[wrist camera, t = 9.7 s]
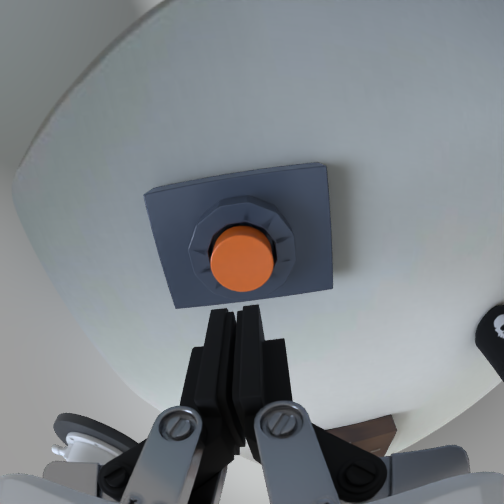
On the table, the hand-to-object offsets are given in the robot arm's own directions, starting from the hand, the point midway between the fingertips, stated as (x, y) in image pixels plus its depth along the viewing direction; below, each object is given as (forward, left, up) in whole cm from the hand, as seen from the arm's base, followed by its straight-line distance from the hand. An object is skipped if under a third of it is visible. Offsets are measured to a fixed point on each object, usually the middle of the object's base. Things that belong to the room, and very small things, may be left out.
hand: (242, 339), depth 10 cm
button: (0, 0, -8) cm, 8 cm away
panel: (+9, -34, -12) cm, 37 cm away
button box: (0, 0, -12) cm, 12 cm away
